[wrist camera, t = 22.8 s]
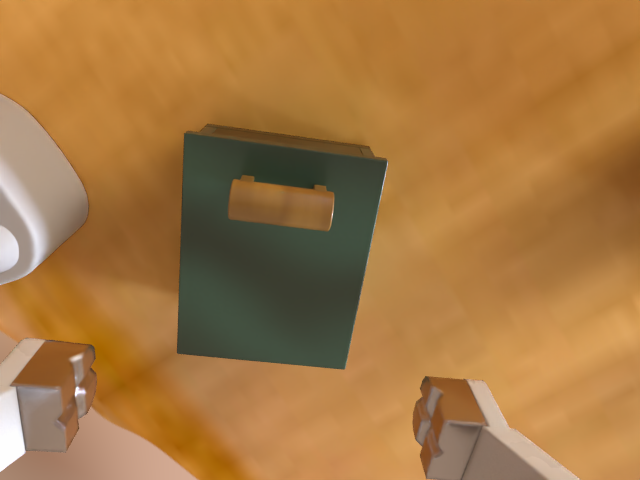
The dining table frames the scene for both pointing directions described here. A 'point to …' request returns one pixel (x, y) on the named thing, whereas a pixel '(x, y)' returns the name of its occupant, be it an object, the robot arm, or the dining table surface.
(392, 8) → the dining table surface
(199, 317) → the case lid
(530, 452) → the robot arm
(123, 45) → the dining table surface
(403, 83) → the dining table surface
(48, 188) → the lumpy-topped squat cylinder
